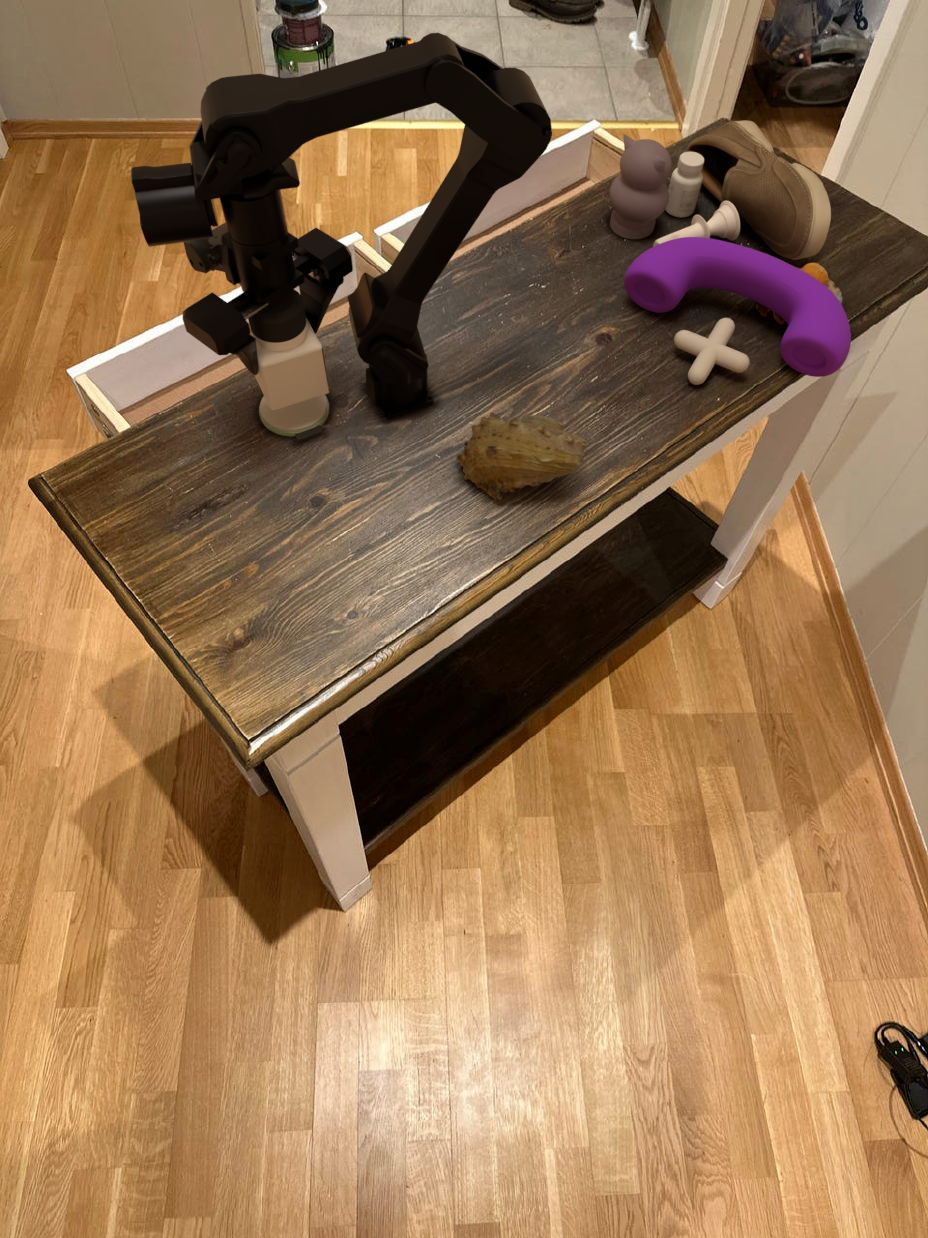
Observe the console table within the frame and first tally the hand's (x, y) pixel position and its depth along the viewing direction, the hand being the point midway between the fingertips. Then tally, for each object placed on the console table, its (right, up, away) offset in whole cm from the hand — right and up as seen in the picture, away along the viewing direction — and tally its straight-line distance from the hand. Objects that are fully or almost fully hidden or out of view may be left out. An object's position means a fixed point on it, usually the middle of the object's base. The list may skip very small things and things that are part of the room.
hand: (283, 352), depth 98 cm
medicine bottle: (0, -3, +4) cm, 5 cm away
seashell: (+27, -14, +4) cm, 30 cm away
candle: (+58, +26, +24) cm, 68 cm away
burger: (+65, +13, +20) cm, 69 cm away
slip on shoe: (+65, +31, +24) cm, 76 cm away
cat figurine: (+45, +27, +28) cm, 59 cm away
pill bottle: (+52, +30, +30) cm, 67 cm away
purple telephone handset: (+52, +19, +10) cm, 56 cm away
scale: (0, -5, +8) cm, 9 cm away
